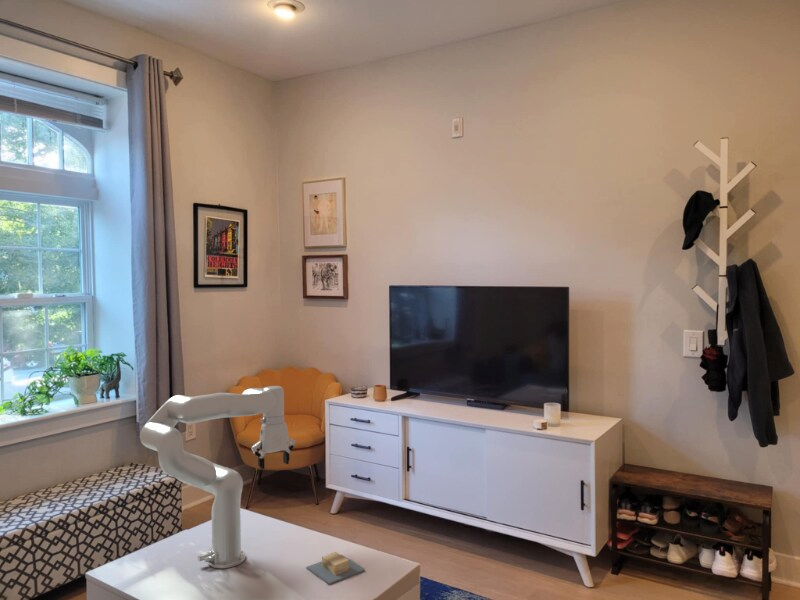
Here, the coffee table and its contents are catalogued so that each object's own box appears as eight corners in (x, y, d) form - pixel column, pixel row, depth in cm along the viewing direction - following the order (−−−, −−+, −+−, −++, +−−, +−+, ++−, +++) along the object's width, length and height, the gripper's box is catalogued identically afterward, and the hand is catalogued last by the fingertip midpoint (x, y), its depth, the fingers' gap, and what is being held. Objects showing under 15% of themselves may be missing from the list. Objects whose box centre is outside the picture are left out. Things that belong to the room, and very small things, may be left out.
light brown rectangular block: (322, 566, 195) (321, 556, 195) (335, 561, 198) (335, 551, 198) (335, 575, 189) (335, 565, 189) (349, 569, 192) (349, 560, 192)
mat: (329, 584, 184) (328, 583, 184) (306, 568, 194) (306, 566, 194) (364, 571, 192) (364, 569, 192) (341, 556, 203) (341, 554, 203)
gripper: (255, 425, 207) (256, 473, 207) (299, 418, 218) (299, 463, 218) (247, 421, 213) (247, 467, 213) (290, 415, 224) (290, 459, 224)
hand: (274, 465), depth 216 cm, fingers open, 9 cm apart
